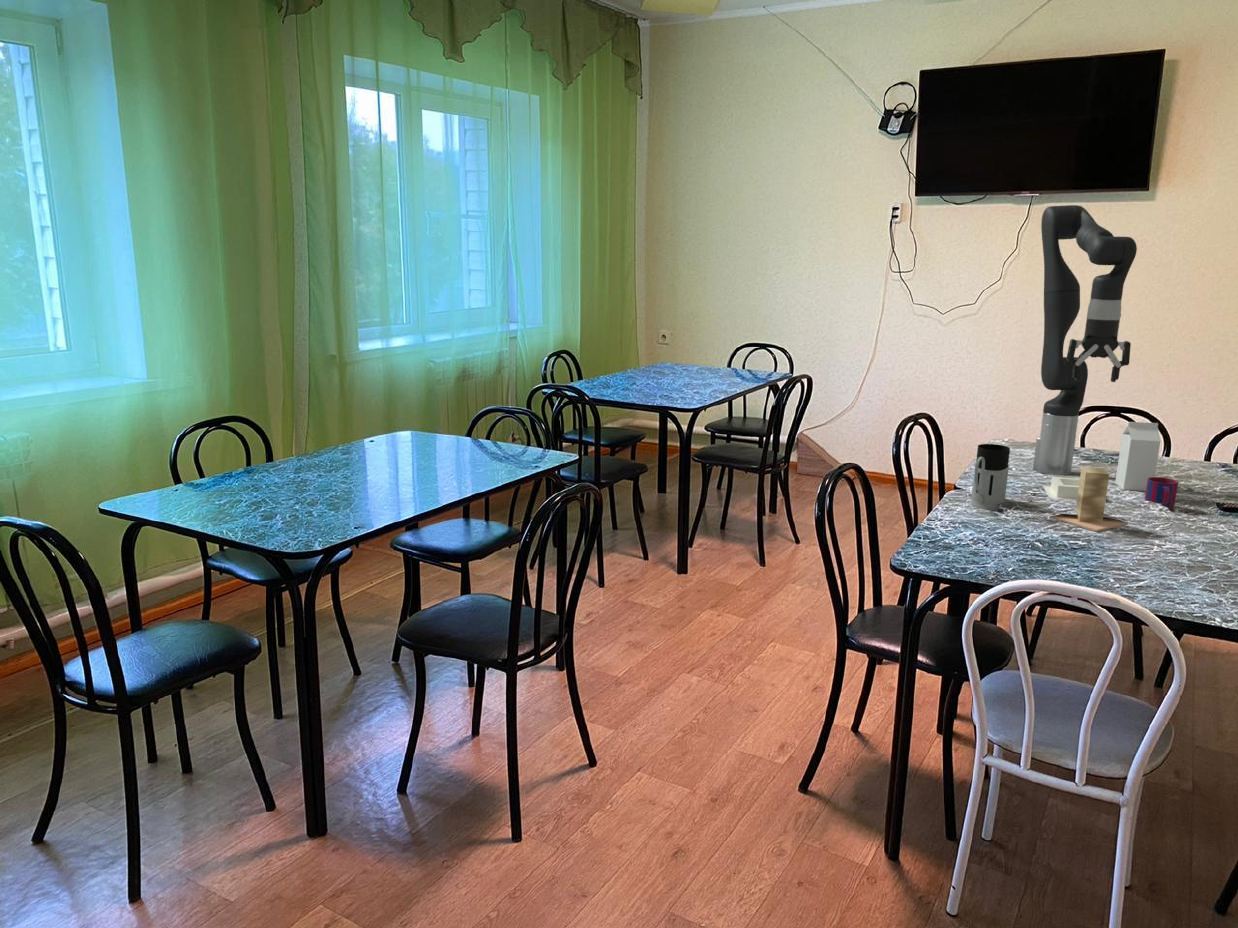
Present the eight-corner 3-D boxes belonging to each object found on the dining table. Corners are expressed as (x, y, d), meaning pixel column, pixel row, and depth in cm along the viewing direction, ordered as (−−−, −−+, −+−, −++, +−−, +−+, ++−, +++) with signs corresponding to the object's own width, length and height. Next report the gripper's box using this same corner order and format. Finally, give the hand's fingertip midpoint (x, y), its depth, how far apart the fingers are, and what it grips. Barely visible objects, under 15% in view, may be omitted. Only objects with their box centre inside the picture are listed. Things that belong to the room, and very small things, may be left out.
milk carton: (1151, 496, 243) (1163, 425, 239) (1122, 494, 245) (1133, 424, 240) (1142, 489, 250) (1153, 420, 246) (1114, 487, 252) (1124, 419, 247)
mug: (1173, 504, 237) (1177, 478, 235) (1176, 514, 228) (1180, 488, 226) (1143, 501, 239) (1147, 475, 238) (1145, 511, 231) (1149, 484, 229)
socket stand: (1049, 504, 236) (1052, 486, 234) (1041, 490, 248) (1043, 474, 247) (1106, 508, 232) (1108, 491, 231) (1094, 494, 244) (1097, 478, 243)
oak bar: (1079, 521, 220) (1085, 472, 217) (1074, 515, 224) (1081, 467, 221) (1102, 523, 218) (1109, 474, 216) (1097, 517, 223) (1104, 469, 220)
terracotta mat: (1050, 518, 224) (1050, 516, 224) (1081, 511, 229) (1081, 509, 229) (1096, 531, 213) (1096, 529, 213) (1127, 524, 219) (1128, 522, 219)
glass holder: (1011, 504, 234) (1018, 447, 231) (989, 516, 224) (995, 456, 221) (977, 498, 240) (983, 441, 237) (954, 509, 230) (960, 450, 227)
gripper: (1130, 317, 236) (1121, 380, 240) (1070, 315, 240) (1062, 377, 244) (1138, 319, 229) (1128, 384, 233) (1075, 317, 233) (1067, 381, 237)
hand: (1094, 380), depth 239 cm, fingers open, 8 cm apart
